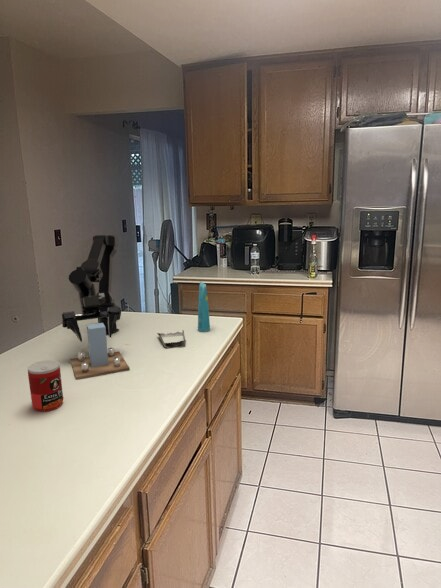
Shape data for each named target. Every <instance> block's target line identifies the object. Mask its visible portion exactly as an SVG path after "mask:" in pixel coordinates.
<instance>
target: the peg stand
mask: <svg viewBox="0 0 441 588" xmlns="http://www.w3.org/2000/svg"><path fill="white" fill-rule="evenodd" d="M107 353H108V365H103V366H97V367H92V366H91V363H90V356H89V355H88V356H87V355H86V356H85V352H80V351H79V352H78V353H77V357H74V358H70V364H71V367H72V371H73V374H74V377H75V380H81V379H82V380H83V379H88V378H93V377H94V378H95V377H98V376H99V377H100V376H105V375H110V374H116V373H122V372H127V371H130V366H129V364H128V363H127V361H126V360H125V358H124V357H123V355H122V354H121V352H120V351H119V350H117V351H115V348H114V347H109V348H108V347H107Z"/></svg>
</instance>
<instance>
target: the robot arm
mask: <svg viewBox="0 0 441 588" xmlns="http://www.w3.org/2000/svg"><path fill="white" fill-rule="evenodd" d="M119 243H120V242H119V238H118V237H117V236H116V235H115V234H95V235H93V236H92V243H91V246H90V250H89V253H88V255H87V259H86V260H85V261H83V262H82V263H81V264H80V265H79V266H76V268H75V269H74V270H73V271H71V272H70V274H68V281H69V282H70V284H71V285H72V288H74V290H75V291H76V292H77V293H78V297H79V298H78V299H79V303H80V308H81V313H80V314H76V313H75V311H74V310H73V311H65V312H62V313H61V324H62V325H61V326H62V328H66V329H67V330H71V331H72V332H73V334H75V336H76V338H77V339H78V340H79V341H80V342H81V343H82V342H83V340H82V339H83V337H82V334H81V330H80V327H79V324H78V321H85V320H86V321H87V320H95V319H97V323H103V324H104V325H105V327H106V336H107V335H108V336H109V338H112V334H113V333H115V332H117V331H119V328H118V327H117V322H118V321H120V320H121V317H122V315H121V314H122V309H121V307H120V306H119V305H116V301H115V298H114V297H113V294H112V273H113V272H112V270H113V257H114V256H115V255H116V253H117V250H118V247H119ZM94 283H98V292H97V291H96V286H95V284H94Z"/></svg>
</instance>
